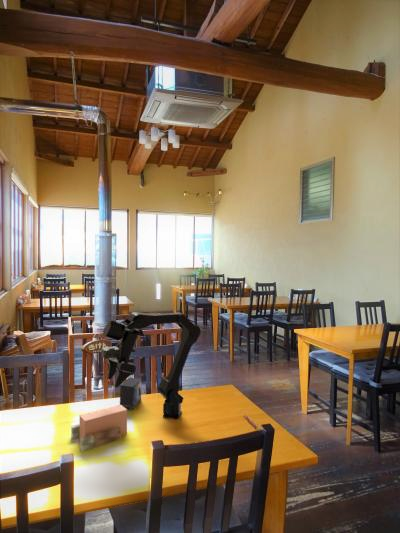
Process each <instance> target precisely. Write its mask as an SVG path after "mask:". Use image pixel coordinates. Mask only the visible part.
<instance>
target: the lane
mask: <svg viewBox="0 0 400 533" xmlns="http://www.w3.org/2000/svg"><path fill="white" fill-rule="evenodd" d="M70 429H71V430H70V433H71V436H70V437H71V439H73V440H74V439H77V438H79V440H80V444H79V445H80V447H79V448H80V450H81V452H84V451H87V450H90V449H94V448H97V447H100V446H102V445H105V444H109V443H112V442H116V441H118V440H119V441H120V440H121V435H120V428H119V427H116V428H113V429H109V430H106V431H102V432H99V433H96V434H92V435H89V436H85V437H82V438H80V423H78V424H76V425H71V428H70Z"/></svg>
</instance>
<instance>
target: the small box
mask: <svg viewBox="0 0 400 533" xmlns="http://www.w3.org/2000/svg"><path fill="white" fill-rule="evenodd" d="M141 401H142V378H139V377H131V376H129V377H128V378H126V379H125V380H124V381H123V382H122V383H121V384H120V385H119V405H122V406H123V407H124V408H126V409H127V410H131V411H133V410H134V409H135V408H136V407H137V405H139V403H141Z"/></svg>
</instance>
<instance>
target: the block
mask: <svg viewBox="0 0 400 533" xmlns="http://www.w3.org/2000/svg"><path fill="white" fill-rule="evenodd" d="M79 424H80V437H79V439H80V438H82V437H85V436H89V435H92V434H96V433H99V432H102V431H106V430H109V429H113V428H116V427H119V428H120V436H121V435H124V434H127V433H128V430H127V429H128V409H126V408H124V407H123V406H122V405H120V404H117V405H113V406H110V407H106V408H102V409H98V410H95V411H91V412H87V413H86V412H85V413H83V414H79Z"/></svg>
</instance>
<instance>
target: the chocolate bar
mask: <svg viewBox="0 0 400 533" xmlns="http://www.w3.org/2000/svg"><path fill="white" fill-rule="evenodd" d="M244 418H245V419H246V420H247V421H246V420H245V419H244ZM242 419H244V420H245V421H246V422H247V423H248V424H249V425H250V426H251V427H252V428H253V429H254V430H255V431H256V430H257V431H259V430H258V429H261V427H260V426H259V424H258V423H257V422H255V421H254V419H253V418H251V417H250V416H249V415H248V414H247V413H246V412H244V413H243V416H242Z"/></svg>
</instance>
